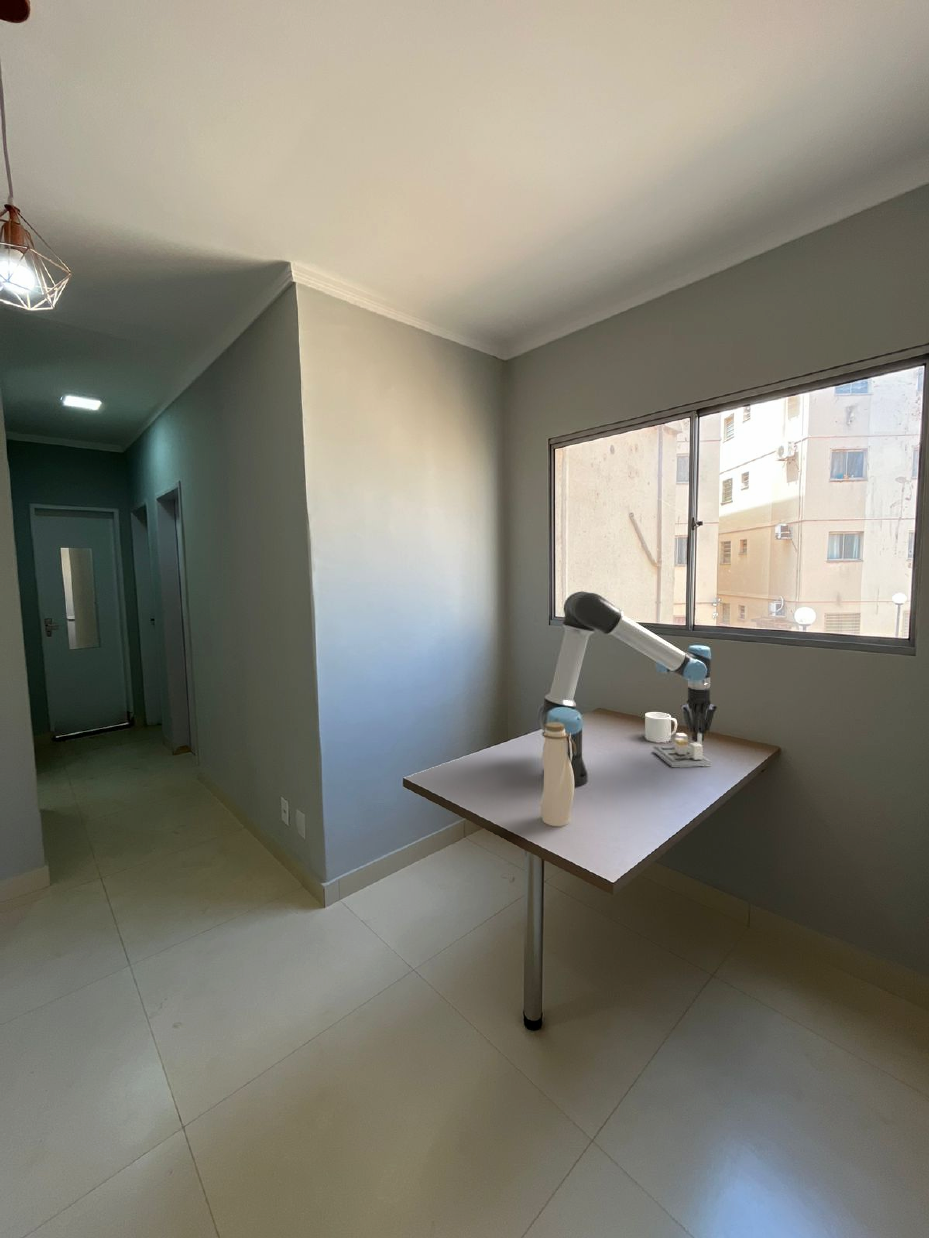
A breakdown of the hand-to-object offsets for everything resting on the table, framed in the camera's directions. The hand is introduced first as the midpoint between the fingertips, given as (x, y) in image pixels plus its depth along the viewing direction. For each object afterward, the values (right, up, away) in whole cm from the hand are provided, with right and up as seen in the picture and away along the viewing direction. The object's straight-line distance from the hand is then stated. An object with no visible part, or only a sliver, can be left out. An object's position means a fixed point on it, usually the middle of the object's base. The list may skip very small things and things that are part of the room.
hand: (697, 749), depth 187 cm
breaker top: (-4, -1, +5) cm, 7 cm away
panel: (-7, -4, 0) cm, 7 cm away
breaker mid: (-7, -1, 0) cm, 7 cm away
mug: (-5, -2, +21) cm, 22 cm away
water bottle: (-60, -9, -43) cm, 75 cm away
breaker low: (-3, -2, -6) cm, 7 cm away
